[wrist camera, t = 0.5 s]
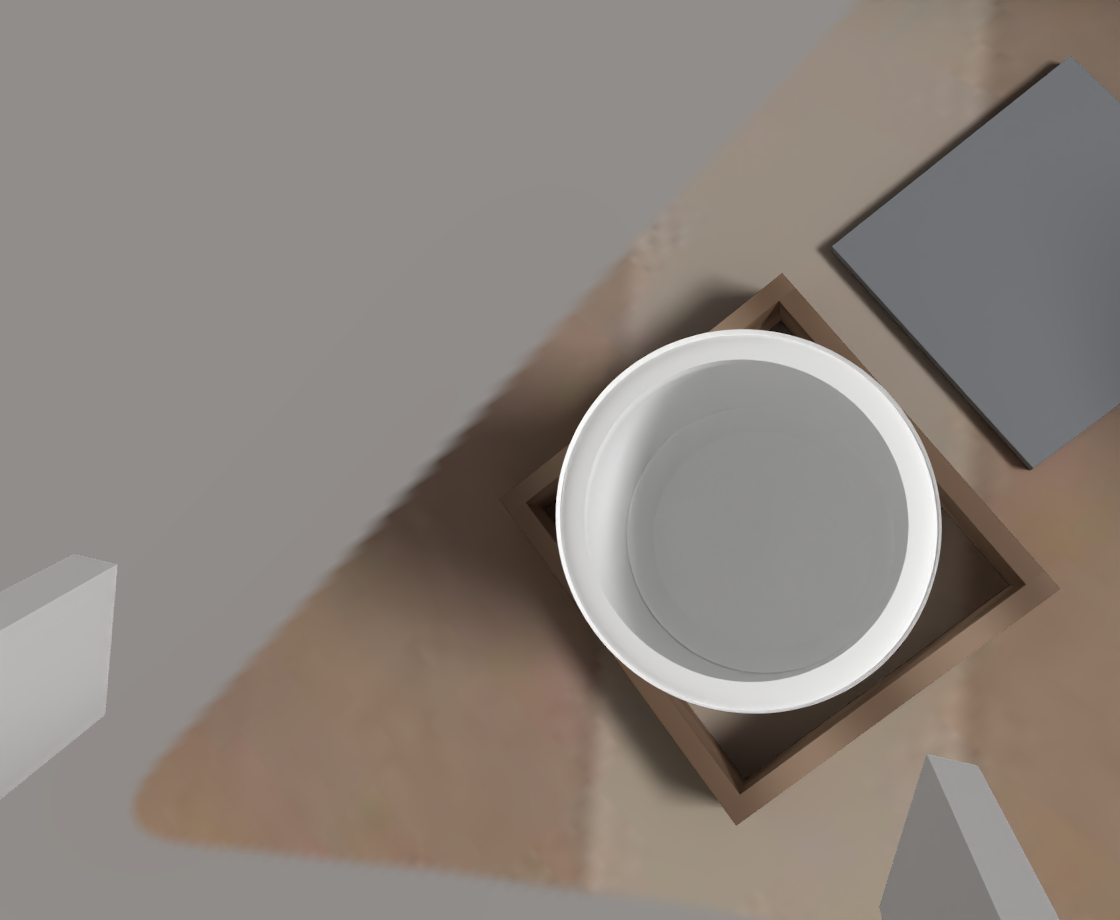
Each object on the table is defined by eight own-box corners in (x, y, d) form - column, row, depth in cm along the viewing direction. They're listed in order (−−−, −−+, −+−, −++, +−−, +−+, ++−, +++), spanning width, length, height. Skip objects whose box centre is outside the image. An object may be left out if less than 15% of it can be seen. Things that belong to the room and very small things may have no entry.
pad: (1066, 63, 41) (1070, 55, 40) (1290, 275, 38) (1298, 270, 37) (831, 251, 42) (832, 246, 42) (1030, 470, 39) (1033, 468, 38)
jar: (594, 502, 43) (487, 455, 29) (800, 372, 42) (797, 254, 27) (725, 721, 41) (680, 791, 26) (949, 591, 39) (1032, 588, 25)
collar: (783, 295, 42) (782, 272, 39) (1041, 589, 38) (1060, 588, 36) (519, 505, 44) (499, 499, 41) (741, 808, 40) (736, 825, 37)
